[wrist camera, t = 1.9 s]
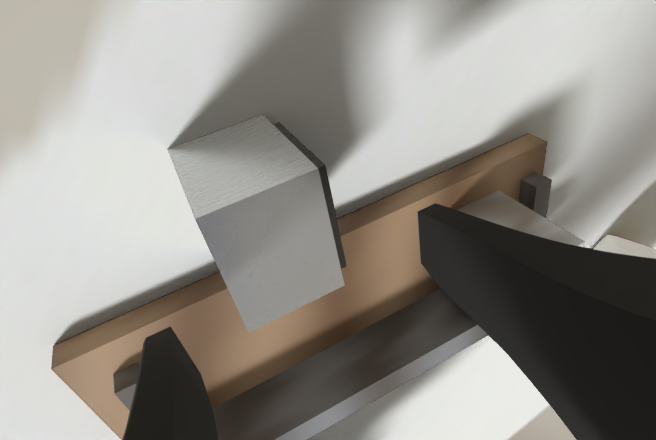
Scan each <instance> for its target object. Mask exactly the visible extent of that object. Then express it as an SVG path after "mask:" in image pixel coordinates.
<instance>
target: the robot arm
mask: <svg viewBox="0 0 656 440" xmlns="http://www.w3.org/2000/svg"><path fill="white" fill-rule="evenodd" d="M418 226H419V242H420V257H421V264H422V265H423V267H424V268H425V269H426V270H427V272H428V273H429V274H430V276H431V277H432V278H433V279H434V281H435V282H436V283H437V284H438V286H439V287H440V288H441V289H442V290H443V291H444V292H445V293H446V294H447V295H448V296H449V297H450V298H451V299H452V300H453V301H454V302H455V303H456V304H457V305H458V306H459V307H460V308H461V309H462V310H463V311H464V312H465V313H466V314H467V315H468V316H469V317H470V318H471V319H472V320H474V321H475V322H476V323H477V324H478V325H479V326H480V327H481V328H482V329H483V330H484V331H485V332H486V333H487V334H488V335H489V336H490V337H491V338H492V339H493V340H494V341H495V342H496V343H497V344H498V345H499V346H500V347H501V348H502V349H503V350H504V351H505V352H506V353H507V354H508V355H509V356H510V357H511V359H512V360H513V361H514V362H515V363H516V364H517V366H518V367H519V368H520V369H521V370H522V371H523V373H524V374H525V375H526V376H527V377H528V379H529V380H530V381H531V382H532V383H533V385H534V386H535V387H536V388H537V389H538V391H539V392H540V393H541V394H542V396H543V397H544V398H545V399H546V401H547V402H548V403H549V404H550V406H551V407H552V408H553V409H554V410H555V412H556V413H557V414H558V416H559V417H560V418H561V420H562V421H563V422H564V424H565V425H566V426H567V427H568V429H569V430H570V431H571V433H572V434H573V435H574V437H575V438H576V439H577V440H656V259H655V258H646V257H638V256H631V255H625V254H618V253H611V252H605V251H600V250H594V249H589V248H585V247H580V246H575V245H570V244H566V243H562V242H557V241H553V240H550V239H546V238H542V237H539V236H535V235H531V234H528V233H524V232H521V231H518V230H514V229H511V228H508V227H505V226H502V225H499V224H496V223H493V222H490V221H487V220H484V219H481V218H478V217H475V216H472V215H469V214H466V213H464V212H461V211H458V210H455V209H452V208H449V207H446V206H443V205H439V204H436V203H435V204H433V205H430V206H428V207H426V208H424V209H422V210H420V211H418ZM122 440H219V438H218V433H217V429H216V424H215V419H214V414H213V410H212V406H211V403H210V400H209V397H208V394H207V391H206V388H205V385H204V382H203V379H202V376H201V373H200V372H199V370H198V368H197V367H196V365H195V364H194V362H193V361H192V359H191V357H190V356H189V354H188V353H187V351H186V350H185V348H184V346H183V345H182V343H181V342H180V340H179V339H178V337H177V335H176V334H175V332H174V331H173V329H172V328H171V326H170V327H168V328H166V329H164V330H161V331H159V332H157V333H155V334H153V335H151V336H149V337H146V339H145V341H144V343H143V349H142V356H141V362H140V367H139V373H138V378H137V383H136V387H135V392H134V396H133V401H132V405H131V409H130V413H129V417H128V421H127V425H126V429H125V433H124V436H123V439H122Z"/></svg>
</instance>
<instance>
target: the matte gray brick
mask: <svg viewBox="0 0 656 440" xmlns="http://www.w3.org/2000/svg"><path fill="white" fill-rule="evenodd" d="M168 152H169V154H170V157H171V159H172V162H173V164H174V167H175V170H176V172H177V175H178V177H179V180H180V182H181V185H182V187H183V190H184V192H185V195H186V197H187V200H188V202H189V205H190V207H191V210H192V212H193V215H194V217H195V220H196V222H197V224H198V226H199V228H200V230H201V232H202V234H203V237H204V239H205V241H206V243H207V245H208V247H209V249H210V252H211V254H212V256H213V258H214V260H215V262H216V264H217V266H218V269H219V271H220V273H221V275H222V277H223V279H224V281H225V284H226V286H227V288H228V290H229V292H230V294H231V296H232V299H233V301H234V303H235V305H236V307H237V309H238V311H239V313H240V316H241V318H242V320H243V322H244V324H245V326H246V328H247V331H248V333H249V332H251V331H253V330H255V329H257V328H259V327H261V326H263V325H265V324H267V323H269V322H271V321H273V320H275V319H278V318H280V317H282V316H284V315H286V314H288V313H290V312H292V311H294V310H296V309H298V308H300V307H302V306H304V305H306V304H308V303H310V302H312V301H314V300H316V299H318V298H320V297H322V296H324V295H326V294H328V293H330V292H332V291H334V290H336V289H338V288H340V287H342V286H344V285H345V284H344V280H343V276H342V271H341V269H342V268H344V267H346V266H347V265H346V260H345V255H344V251H343V246H342V241H341V237H340V232H339V227H338V223H337V218H336V213H335V209H334V204H333V199H332V195H331V190H330V185H329V181H328V176H327V171H326V167H325V165H324V164H323V163H322V162H321V161H320V160H319V159H318V158H317V157H316V156H315V155H314V154H313V153H311V152H310V151H309V150H308V149H307V148H306V147H305V146H304V145H303V144H302V143H301V142H300V141H299V140H297V139H296V138H295V137H294V136H293V135H292V134H291V133H290V132H289V131H288V130H287V129H286V128H285V127H283V126H282V125H281V124H280V123H276V124H272V123H271V122H270V121H269V120H268V119H267V118H266V117H265V116H264V115H261V116H258V117H255V118H252V119H249V120H247V121H244V122H241V123H238V124H236V125H233V126H230V127H227V128H225V129H222V130H219V131H216V132H214V133H211V134H208V135H205V136H202V137H200V138H197V139H194V140H191V141H189V142H186V143H183V144H180V145H178V146H175V147H172V148H169V149H168Z"/></svg>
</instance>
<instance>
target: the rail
mask: <svg viewBox="0 0 656 440" xmlns="http://www.w3.org/2000/svg"><path fill="white" fill-rule="evenodd" d="M546 147H547V141H544V140H542V139H540V138H537V137H535V136H533V135H531V134H527V135H525V136H522V137H520V138H518V139H516V140H513V141H511V142H509V143H507V144H504V145H502V146H500V147H498V148H495V149H493V150H491V151H489V152H487V153H484V154H482V155H480V156H478V157H475V158H473V159H471V160H469V161H466V162H464V163H462V164H460V165H457V166H455V167H453V168H451V169H448V170H446V171H444V172H442V173H439V174H437V175H435V176H433V177H431V178H428V179H426V180H424V181H422V182H419V183H417V184H415V185H413V186H410V187H408V188H406V189H404V190H401V191H399V192H397V193H395V194H392V195H390V196H388V197H386V198H383V199H381V200H379V201H377V202H375V203H372V204H370V205H368V206H366V207H363V208H361V209H359V210H357V211H354V212H352V213H350V214H348V215H345V216H343V217H341V218H339V219H337V223H338V227H339V232H340V237H341V241H342V246H343V251H344V255H345V260H346V265H347V266H346V267H344V268H342V269H341V271H342V276H343V280H344V284H345V285H344V286H342V287H340V288H338V289H336V290H334V291H332V292H330V293H328V294H326V295H324V296H322V297H320V298H318V299H316V300H314V301H312V302H310V303H308V304H306V305H304V306H302V307H300V308H298V309H296V310H294V311H292V312H290V313H288V314H286V315H284V316H282V317H280V318H278V319H275V320H273V321H271V322H269V323H267V324H265V325H263V326H261V327H259V328H257V329H255V330H253V331H251V332H249V333H248V331H247V328H246V326H245V324H244V322H243V320H242V318H241V316H240V313H239V311H238V309H237V307H236V305H235V303H234V301H233V299H232V296H231V294H230V292H229V290H228V288H227V286H226V284H225V281H224V279H223V277H222V275H221V273H220V272H218V273H215V274H213V275H211V276H209V277H207V278H204V279H202V280H200V281H198V282H195V283H193V284H191V285H189V286H186V287H184V288H182V289H180V290H177V291H175V292H173V293H171V294H168V295H166V296H164V297H162V298H159V299H157V300H155V301H153V302H151V303H148V304H146V305H144V306H142V307H139V308H137V309H135V310H133V311H130V312H128V313H126V314H124V315H121V316H119V317H117V318H115V319H112V320H110V321H108V322H106V323H103V324H101V325H99V326H97V327H95V328H92V329H90V330H88V331H86V332H83V333H81V334H79V335H77V336H74V337H72V338H70V339H68V340H65V341H63V342H61V343H59V344H56V345H54V346H53V355H52V367H51V369H52V370H53V371H54V372H55V373H56V374H57V375H58V376H59V377H60V378H61V379H62V380H63V381H64V382H65V383H66V384H67V385H68V386H69V387H70V388H71V389H72V390H73V391H74V392H75V393H76V394H77V395H78V396H79V397H80V398H81V399H82V400H83V401H84V402H85V403H86V404H87V405H88V406H89V407H90V408H91V409H92V410H93V412H94V413H95V414H96V415H97V416H98V417H99V418H100V419H101V420H102V421H103V422H104V423H105V424H106V425H107V426H108V427H109V428H110V429H111V430H112V431H113V432H114V433H115V434H116V435H117V436H118V437H119V438H120V439H121V440H122V439H123V436H124V433H125V429H126V425H127V421H128V417H129V413H130V409H131V405H132V401H133V396H134V392H135V387H136V383H137V378H138V373H139V367H140V362H141V356H142V349H143V343H144V341H145V339H146V337H149V336H151V335H153V334H155V333H157V332H159V331H161V330H164V329H166V328H168V327H170V326H171V328H172V329H173V331H174V332H175V334H176V335H177V337H178V339H179V340H180V342H181V343H182V345H183V346H184V348H185V350H186V351H187V353H188V354H189V356H190V357H191V359H192V361H193V362H194V364H195V365H196V367H197V368H198V370H199V372H200V373H201V376H202V379H203V382H204V385H205V388H206V391H207V394H208V397H209V400H210V403H211V406H212V410H213V414H214V419H215V424H216V429H217V433H218V438H219V440H307V439H309V438H311V437H313V436H314V435H316V434H318V433H320V432H321V431H323V430H325V429H326V428H328V427H330V426H332V425H333V424H335V423H337V422H339V421H340V420H342V419H344V418H346V417H347V416H349V415H351V414H352V413H354V412H356V411H358V410H359V409H361V408H363V407H365V406H366V405H368V404H370V403H371V402H373V401H375V400H377V399H378V398H380V397H382V396H384V395H385V394H387V393H389V392H391V391H392V390H394V389H396V388H397V387H399V386H401V385H403V384H404V383H406V382H408V381H410V380H411V379H413V378H415V377H417V376H418V375H420V374H422V373H423V372H425V371H427V370H429V369H430V368H432V367H434V366H436V365H437V364H439V363H441V362H442V361H444V360H446V359H448V358H449V357H451V356H453V355H455V354H456V353H458V352H460V351H462V350H463V349H465V348H467V347H468V346H470V345H472V344H474V343H475V342H477V341H479V340H481V339H482V338H484V337H486V336H488V334H487V333H486V332H485V331H484V330H483V329H482V328H481V327H480V326H479V325H478V324H477V323H476V322H475V321H474V320H472V319H471V318H470V317H469V316H468V315H467V314H466V313H465V312H464V311H463V310H462V309H461V308H460V307H459V306H458V305H457V304H456V303H455V302H454V301H453V300H452V299H451V298H450V297H449V296H448V295H447V294H446V293H445V292H444V291H443V290H442V289H441V288H440V287H439V286H438V284H437V283H436V282H435V281H434V279H433V278H432V277H431V276H430V274H429V273H428V272H427V270H426V269H425V268H424V267H423V265H422V264H421V257H420V242H419V226H418V211H420V210H422V209H424V208H426V207H428V206H430V205H433V204H435V203H436V204H439V205H443V206H446V207H449V208H452V209H455V210H458V211H461V212H464V213H466V214H469V215H472V216H475V217H478V218H481V219H484V220H487V221H490V222H493V223H496V224H499V225H502V226H505V227H508V228H511V229H514V230H518V231H521V232H524V233H528V234H531V235H535V236H539V237H542V238H546V239H550V240H553V241H557V242H562V243H566V244H570V245H575V246H580V247H584V243H585V242H584V241H583V240H581V239H579V238H578V237H576V236H574V235H573V234H571V233H569V232H568V231H566V230H564V229H563V228H561V227H559V226H558V225H556V224H554V223H553V222H551V221H549V220H548V219H546V213H547V207H548V201H549V194H550V188H551V182H552V180H551V179H549V178H547V177H545V176H543V168H544V161H545V154H546Z"/></svg>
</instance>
